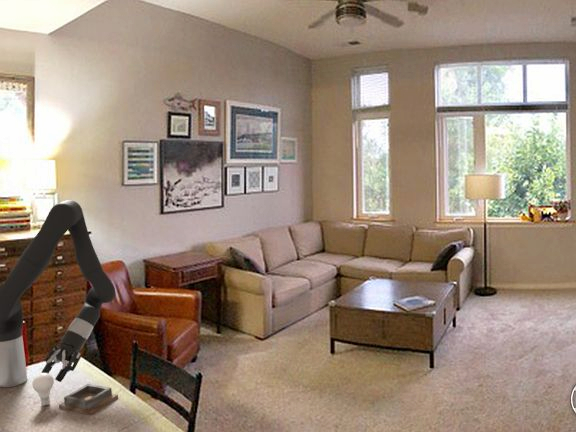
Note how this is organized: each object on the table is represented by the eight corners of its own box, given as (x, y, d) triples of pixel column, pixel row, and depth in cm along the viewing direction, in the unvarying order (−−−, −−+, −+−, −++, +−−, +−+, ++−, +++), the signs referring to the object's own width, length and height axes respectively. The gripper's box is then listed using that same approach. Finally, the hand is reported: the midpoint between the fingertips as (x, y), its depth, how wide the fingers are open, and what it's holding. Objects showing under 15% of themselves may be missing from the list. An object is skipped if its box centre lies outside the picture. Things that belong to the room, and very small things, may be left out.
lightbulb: (48, 410, 166) (44, 378, 164) (30, 409, 167) (27, 377, 166) (60, 400, 172) (56, 369, 170) (43, 399, 173) (40, 369, 172)
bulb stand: (59, 407, 167) (57, 397, 167) (86, 391, 178) (85, 381, 177) (91, 414, 161) (90, 404, 161) (118, 397, 172) (117, 387, 172)
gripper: (57, 326, 180) (30, 369, 172) (82, 332, 172) (54, 378, 164) (72, 335, 185) (46, 378, 177) (97, 342, 177) (71, 387, 169)
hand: (50, 378), depth 170 cm, fingers open, 8 cm apart
